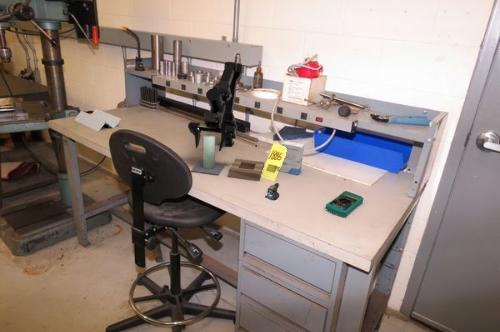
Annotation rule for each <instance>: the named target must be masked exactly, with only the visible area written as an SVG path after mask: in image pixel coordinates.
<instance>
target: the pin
mask: <svg viewBox="0 0 500 332" xmlns="http://www.w3.org/2000/svg"><path fill="white" fill-rule="evenodd" d="M202 146H203V153H202V156H203V158H202V159H203V160H202V161H203V168H205V169H213V168H214V162H215V155H216V154H215V152H216V151H215V149H216V135H214V134H210V133H209V134H207V133H206V134H203V145H202Z"/></svg>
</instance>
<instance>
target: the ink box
mask: <svg viewBox="0 0 500 332" xmlns="http://www.w3.org/2000/svg"><path fill="white" fill-rule="evenodd" d="M281 145H282V146H285V147H286V148H287V152H286V157H285V160H284V162H283V165H282V167H281V170H280V171H279V172H282V173H288V174H292V175H295V176H299V174H300V173H301V171H302V165H303V160H304V159H303V158H304V150H305V144H302V143H298V142H294V141H293V142H292V141H288V140H284V141H283V142H281V144H280V146H281Z"/></svg>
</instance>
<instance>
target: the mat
mask: <svg viewBox="0 0 500 332" xmlns="http://www.w3.org/2000/svg"><path fill="white" fill-rule="evenodd" d="M225 166H226V163H223V162H215V161H214V168H213V169H205V168H203V160H198V162H197V163H196V164H195V165H194V166H193V168H192V169H191V170H190V172H191V173H197V174H202V175H203V174H204V175H210V176H211V175H213V176H219V175H220V174H221V173H222V170H223V169H224V168H225Z"/></svg>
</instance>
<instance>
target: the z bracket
mask: <svg viewBox="0 0 500 332" xmlns="http://www.w3.org/2000/svg"><path fill="white" fill-rule="evenodd" d="M121 120H122V118H121V117H119V116H115V115H114V114H111V113H108V112H106V111H103V110H101V109H99V108H95V109H94V111H93V112H92V113H91V114H90V113H87V112H86V111H84V110H80V112H79V113H78V114H77V116H76V117H75V118H74V121H75V122H77V123H79V124H82V125H84V126H86V127H88V128H89V129H92V130H94V131H96V132H100V131H101V129H102V128H103V126H104V125H106V126H107V125H108V127H109V128H112V129H115V128H116V127H117V126H118V124H119V122H121ZM114 127H115V128H114Z"/></svg>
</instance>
